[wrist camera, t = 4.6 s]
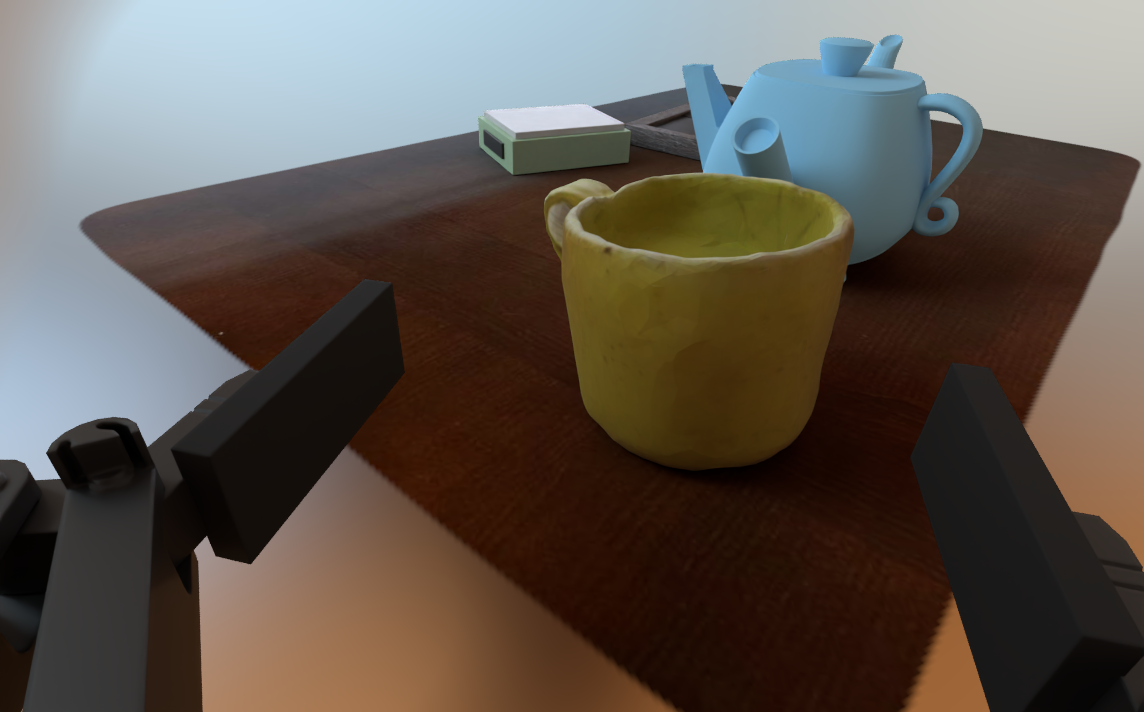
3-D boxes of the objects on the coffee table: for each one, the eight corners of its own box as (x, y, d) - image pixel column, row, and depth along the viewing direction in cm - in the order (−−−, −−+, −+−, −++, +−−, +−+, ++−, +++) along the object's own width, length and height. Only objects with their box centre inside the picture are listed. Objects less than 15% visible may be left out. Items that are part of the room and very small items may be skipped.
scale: (510, 175, 48) (509, 134, 46) (477, 147, 54) (475, 110, 52) (628, 162, 51) (631, 124, 50) (585, 137, 57) (587, 102, 56)
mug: (931, 397, 23) (914, 121, 17) (708, 566, 20) (612, 301, 15) (713, 304, 33) (662, 113, 28) (546, 408, 30) (457, 219, 25)
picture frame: (763, 175, 50) (837, 132, 62) (768, 149, 49) (843, 111, 61) (622, 142, 56) (714, 109, 68) (624, 119, 55) (717, 89, 67)
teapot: (659, 199, 44) (680, 16, 38) (849, 202, 45) (901, 24, 39) (710, 307, 32) (754, 60, 25) (973, 308, 33) (1079, 70, 26)
